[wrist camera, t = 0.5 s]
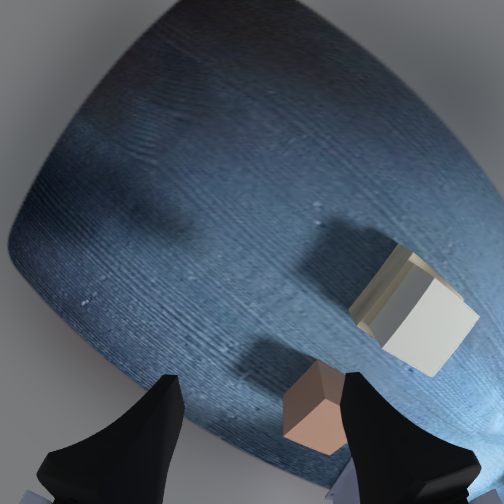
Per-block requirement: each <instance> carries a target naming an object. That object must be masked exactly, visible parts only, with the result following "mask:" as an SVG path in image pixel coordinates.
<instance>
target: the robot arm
mask: <svg viewBox="0 0 504 504" xmlns="http://www.w3.org/2000/svg"><path fill="white" fill-rule="evenodd" d="M184 409H185V406H184V402H183V398H182V393H181V389H180V385H179V380H178V376H177V375H167V374H164V375H163V376H162V377H161V378H160V379H159V380H158V381H157V382H156V383H155V384H154V385H153V386H152V388H151V389H150V390H149V391H148V392H147V393H146V394H145V395H144V396H143V397H142V398H141V399H140V400H139V401H138V402H137V403H136V404H135V405H134V406H132V407H131V408H130V409H129V410H128V411H127V412H126V413H125V414H123V415H122V416H121V417H120V418H118V419H117V420H116V421H115V422H113V423H112V424H110V425H109V426H107V427H106V428H104V429H103V430H101V431H100V432H98V433H96V434H94V435H92V436H90V437H89V438H87V439H85V440H83V441H81V442H78V443H76V444H73V445H71V446H68V447H66V448H63V449H60V450H56V451H53V452H50V453H48V455H47V456H46V458H45V459H44V461H43V463H42V465H41V466H40V468H39V470H38V472H37V474H36V475H37V478H38V480H39V481H40V483H41V484H42V485H43V486H44V487H45V488H46V489H47V490H48V491H49V492H50V494H51V495H53V496H54V498H55V500H54V502H53V503H52V502H50V501H49V500H47V499H45V498H43V497H41V496H39V495H37V494H35V493H33V492H31V491H29V490H26V492H25V494H24V496H23V498H22V500H21V502H20V504H162V503H163V496H164V489H165V483H166V478H167V472H168V468H169V465H170V461H171V458H172V455H173V452H174V449H175V446H176V443H177V439H178V436H179V433H180V430H181V427H182V421H183V415H184ZM340 412H341V419H342V424H343V428H344V432H345V435H346V438H347V442H348V445H349V448H350V452H351V455H352V457H351V459H350V461H349V462H348V464H347V465H346V467H345V468H344V470H343V472H342V473H341V475H340V476H339V478H338V479H337V481H336V482H335V483H334V485H333V486H332V488H331V489H330V491H329V492H328V493H327V495H326V496H325V499H326V500H333V504H502V502H501V499H500V497H499V495H498V493H497V491H496V489H493V490H491V491H489V492H487V493H485V494H483V495H481V496H479V497H477V498H475V499H473V500H472V501H470V502H469V503H468V501H467V497H468V496H469V492H468V490H467V488H468V487H469V486H470V484H471V483H472V482H473V481H474V480H475V479H476V478H477V476H478V475H479V473H480V471H481V465H480V463H479V461H478V459H477V457H476V456H475V454H474V452H473V451H472V450H468V449H465V448H462V447H459V446H456V445H453V444H451V443H448V442H446V441H444V440H442V439H439V438H437V437H435V436H433V435H432V434H430V433H428V432H426V431H425V430H423V429H421V428H420V427H418V426H417V425H415V424H414V423H412V422H411V421H410V420H408V419H407V418H406V417H404V416H403V415H402V414H401V413H399V412H398V411H397V410H396V409H395V408H394V407H393V406H391V405H390V404H389V403H388V402H387V401H386V400H385V399H384V398H383V397H382V396H381V395H380V394H379V393H378V392H377V391H376V390H375V388H374V387H373V386H372V385H371V384H370V383H369V382H368V381H367V380H366V379H365V377H364V376H363V375H362V374H361V373H360V372H353V373H346V375H345V380H344V386H343V391H342V396H341V401H340Z"/></svg>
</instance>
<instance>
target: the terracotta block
mask: <svg viewBox="0 0 504 504" xmlns="http://www.w3.org/2000/svg"><path fill="white" fill-rule="evenodd" d="M344 380H345V375H344V374H343V373H341V372H339V371H337V370H336V369H334V368H332V367H330V366H329V365H327V364H325V363H324V362H322V361H320V360H318V359H317V360H316V361H315V362H314V363H313V364H312V365H311V366H310V367H309V369H308V370H307V371H306V372H305V373H304V374H303V375H302V376H301V377H300V378H299V379H298V380H297V381H296V382H295V383H294V384H293V385H292V386H291V387H290V388H289V389H288V390H287V391H286V392H285V393H284V394H283V437H285V438H287V439H290V440H292V441H294V442H297V443H299V444H302V445H304V446H306V447H309V448H311V449H314V450H316V451H319V452H322V453H324V454H327V455H329V456H330V455H331V454H332V453H334V452H335V451H336V450H338V449H339V448H340V447H341V446H343V445H344V444H345V443H346V442H347V438H346V435H345V432H344V428H343V424H342V419H341V412H340V401H341V396H342V391H343V386H344Z"/></svg>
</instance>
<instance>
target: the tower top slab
mask: <svg viewBox="0 0 504 504" xmlns="http://www.w3.org/2000/svg"><path fill="white" fill-rule="evenodd" d="M479 317H480V316H479V315H477V314H476V313H475V312H474V311H473V310H472V309H471V308H470V307H469V306H467V305H466V304H465V303H464V302H463V301H462V300H461V299H459V298H458V297H457V296H456V295H455V294H454V293H452V292H451V291H450V290H449V289H448V288H447V287H445V286H444V285H443V284H442V283H441V282H439V281H438V280H437V279H436V278H435V277H433V276H432V275H430V274H429V273H427V272H426V271H425V270H423V269H422V268H420V267H419V266H417V265H416V264H414V265H413V266H412V268H411V269H410V271H409V272H408V273H407V275H406V276H405V278H404V279H403V281H402V282H401V284H400V285H399V286H398V288H397V289H396V291H395V292H394V293H393V295H392V296H391V297H390V299H389V300H388V302H387V303H386V304H385V306H384V307H383V308H382V310H381V311H380V312H379V314H378V315H377V316H376V317H375V319H374V320H373V321H372V323H371V324H370V325H369V327H370V328H371V330H372V332H373V334H374V335H375V337H376V339H377V341H378V342H379V344H380V346H381V348H382V349H384V350H385V351H387V352H389V353H390V354H392V355H394V356H396V357H397V358H399V359H401V360H402V361H404V362H406V363H407V364H409V365H411V366H413V367H414V368H416V369H418V370H419V371H421V372H423V373H425V374H426V375H428V376H430V377H431V378H432V377H433V376H434V375H435V374H436V373H437V372H438V370H439V369H440V368H441V367H442V366H443V365H444V363H445V362H446V361H447V360H448V359H449V357H450V356H451V355H452V354H453V352H454V351H455V350H456V349H457V347H458V346H459V345H460V343H461V342H462V341H463V339H464V338H465V337H466V335H467V334H468V333H469V331H470V330H471V329H472V327H473V326H474V324H475V323H476V322H477V320H478V319H479Z"/></svg>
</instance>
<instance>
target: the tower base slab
mask: <svg viewBox="0 0 504 504" xmlns="http://www.w3.org/2000/svg"><path fill="white" fill-rule="evenodd" d="M414 264H416V265H417V266H419V267H420V268H422V269H423V270H425V271H426V272H427V273H429V274H430V275H432V276H433V277H435V278H436V279H437V280H438V281H439V282H441V283H442V284H443V285H444V286H445V287H447V288H448V289H449V290H450V291H451V292H452V293H454V294H455V295H456V296H457V297H458V298H459V299H461V300H462V301H463V300H464V299H463V298H462V297H461V296H460V295H459V294H458V293H457V292H456V291H455V290H454V289H453V288H452V287H451V286H450V285H449V284H448V283H447V282H446V281H444V280H443V279H442V278H441V277H440V276H439V275H438V274H437V273H436V272H435V271H434V270H433V269H432V268H430V267H429V266H428V265H427V264H426V263H425V262H424V261H423V260H422V259H420V258H419V257H418V256H417V255H416V254H415V253H414V252H412V251H410V250H409V249H407V248H405V247H404V246H402V245H400V244H398V245H397V246H396V247H395V249H394V250H393V252H392V253H391V254H390V256H389V257H388V258H387V260H386V261H385V263H384V264H383V265H382V267H381V268H380V269H379V271H378V272H377V273H376V275H375V276H374V277H373V279H372V280H371V281H370V283H369V284H368V285H367V286H366V288H365V289H364V290H363V292H362V293H361V294H360V295H359V297H358V298H357V299H356V300H355V302H354V303H353V304H352V305H351V307H350V308H349V309H348V311H349V312H350V314H351V316H352V318H353V320H354V322H355V324H356V326H357V327H359V328H360V329H362V330H363V331H364V332H366V333H367V334H369V335H370V336H372V337H373V338H375V339H376V337H375V335H374V334H373V332H372V330H371V328H370V327H369V325H370V324H371V323H372V321H373V320H374V319H375V317H376V316H377V315H378V314H379V312H380V311H381V310H382V308H383V307H384V306H385V304H386V303H387V302H388V300H389V299H390V297H391V296H392V295H393V293H394V292H395V291H396V289H397V288H398V286H399V285H400V284H401V282H402V281H403V279H404V278H405V276H406V275H407V273H408V272H409V271H410V269H411V268H412V266H413V265H414ZM376 340H377V339H376Z"/></svg>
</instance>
